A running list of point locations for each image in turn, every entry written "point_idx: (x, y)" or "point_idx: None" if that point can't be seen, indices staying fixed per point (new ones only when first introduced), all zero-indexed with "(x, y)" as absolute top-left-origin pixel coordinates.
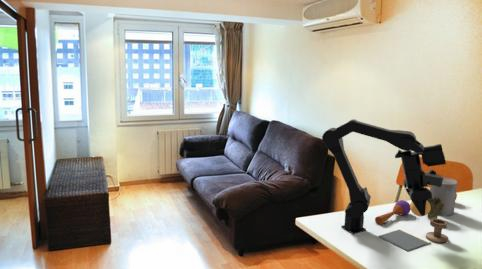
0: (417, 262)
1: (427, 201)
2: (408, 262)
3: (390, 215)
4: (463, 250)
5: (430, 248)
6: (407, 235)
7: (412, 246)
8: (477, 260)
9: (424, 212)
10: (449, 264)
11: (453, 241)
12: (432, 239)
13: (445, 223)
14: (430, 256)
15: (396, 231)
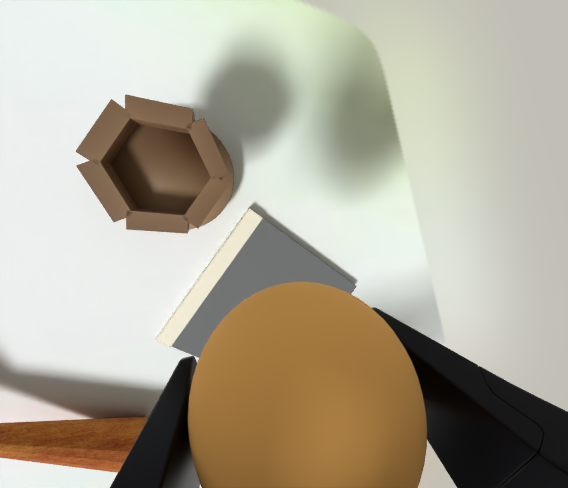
0: (413, 250)
1: (374, 398)
2: (419, 273)
3: (29, 433)
4: (261, 59)
5: (300, 209)
6: (223, 304)
7: (321, 274)
8: (340, 18)
9: (400, 325)
10: (401, 150)
11: (166, 88)
12: (227, 200)
13: (176, 119)
14: (365, 211)
15: (200, 349)
